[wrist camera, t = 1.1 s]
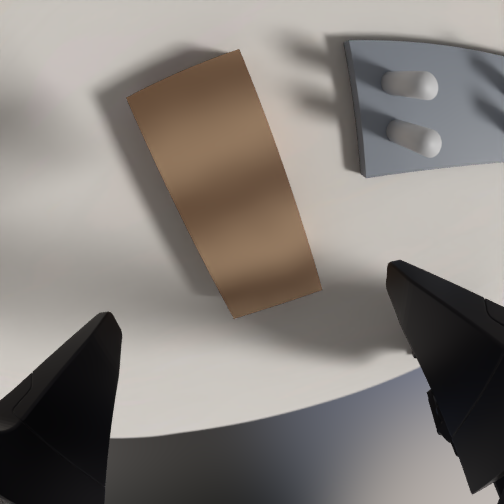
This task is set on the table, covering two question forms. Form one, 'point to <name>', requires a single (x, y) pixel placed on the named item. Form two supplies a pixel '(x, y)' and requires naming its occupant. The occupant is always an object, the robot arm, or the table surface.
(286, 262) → the shelf board
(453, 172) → the table surface
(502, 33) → the table surface
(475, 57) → the peg stand
